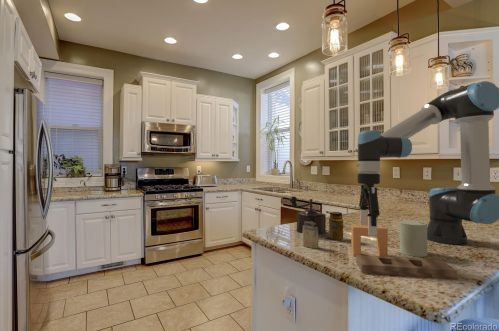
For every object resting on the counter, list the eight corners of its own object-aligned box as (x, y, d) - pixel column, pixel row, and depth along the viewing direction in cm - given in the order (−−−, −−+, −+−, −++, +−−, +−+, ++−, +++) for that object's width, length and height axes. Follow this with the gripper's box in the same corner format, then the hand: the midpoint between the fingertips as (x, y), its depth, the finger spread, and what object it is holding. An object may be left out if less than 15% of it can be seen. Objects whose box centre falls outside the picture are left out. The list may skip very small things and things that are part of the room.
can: (428, 258, 96) (428, 224, 96) (398, 254, 101) (398, 222, 101) (427, 251, 104) (427, 220, 104) (399, 247, 108) (399, 217, 108)
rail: (441, 267, 87) (441, 259, 87) (456, 279, 78) (456, 270, 78) (356, 262, 92) (356, 254, 92) (361, 272, 84) (361, 264, 84)
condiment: (347, 239, 120) (347, 212, 120) (334, 242, 116) (334, 214, 116) (334, 236, 126) (334, 210, 126) (321, 239, 122) (321, 212, 122)
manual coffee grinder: (310, 228, 142) (310, 194, 142) (326, 232, 133) (326, 196, 133) (287, 232, 134) (287, 196, 134) (303, 237, 124) (302, 198, 124)
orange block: (384, 254, 100) (384, 226, 100) (387, 258, 96) (387, 228, 96) (351, 252, 103) (351, 224, 103) (353, 256, 99) (353, 227, 99)
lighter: (320, 247, 109) (320, 222, 109) (314, 249, 107) (314, 224, 107) (305, 243, 114) (305, 220, 114) (300, 245, 112) (300, 221, 112)
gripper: (351, 172, 112) (351, 223, 112) (365, 173, 88) (364, 238, 88) (371, 172, 111) (370, 224, 111) (390, 174, 87) (389, 240, 86)
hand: (368, 230), depth 99 cm, fingers open, 13 cm apart
